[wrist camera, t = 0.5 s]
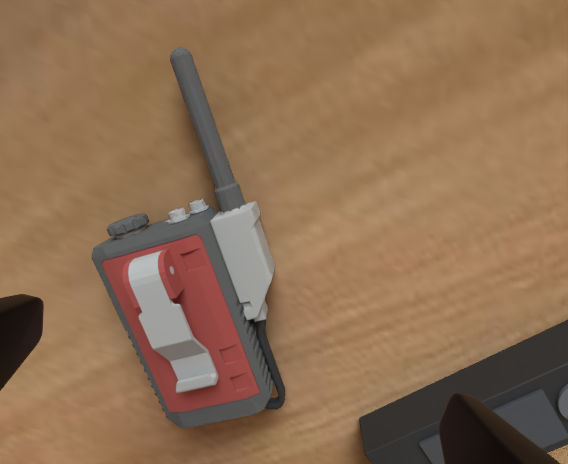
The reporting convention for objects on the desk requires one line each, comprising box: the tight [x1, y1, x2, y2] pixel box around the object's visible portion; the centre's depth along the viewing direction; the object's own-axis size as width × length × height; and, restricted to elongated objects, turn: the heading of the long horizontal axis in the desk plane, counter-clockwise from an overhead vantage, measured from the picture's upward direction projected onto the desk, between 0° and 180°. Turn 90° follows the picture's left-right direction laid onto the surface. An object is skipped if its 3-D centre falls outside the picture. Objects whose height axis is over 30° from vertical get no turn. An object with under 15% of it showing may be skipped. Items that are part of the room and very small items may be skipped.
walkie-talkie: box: [92, 48, 285, 428], centre depth 20 cm, size 9×4×20 cm
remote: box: [359, 320, 568, 464], centre depth 22 cm, size 18×5×3 cm, turn 123°
